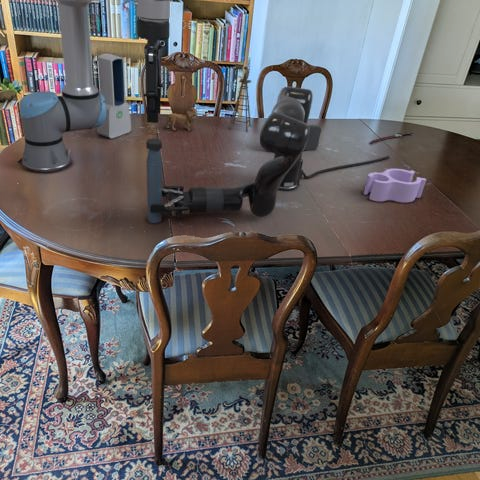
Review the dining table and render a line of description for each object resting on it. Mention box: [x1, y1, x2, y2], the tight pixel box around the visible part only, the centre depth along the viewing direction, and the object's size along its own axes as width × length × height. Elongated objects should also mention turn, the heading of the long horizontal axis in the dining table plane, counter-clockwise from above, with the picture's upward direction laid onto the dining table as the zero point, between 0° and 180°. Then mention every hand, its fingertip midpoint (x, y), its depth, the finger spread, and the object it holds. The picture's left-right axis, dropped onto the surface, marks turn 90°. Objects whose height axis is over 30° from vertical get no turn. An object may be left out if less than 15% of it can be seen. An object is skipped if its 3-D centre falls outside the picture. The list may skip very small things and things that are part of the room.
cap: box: [145, 138, 163, 151], centre depth 123 cm, size 4×4×2 cm
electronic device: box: [96, 53, 132, 139], centre depth 180 cm, size 12×8×30 cm, turn 148°
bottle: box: [146, 149, 163, 224], centre depth 129 cm, size 4×4×24 cm
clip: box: [362, 168, 427, 203], centre depth 162 cm, size 20×12×7 cm, turn 109°
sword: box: [370, 132, 414, 145], centre depth 214 cm, size 31×3×1 cm, turn 126°
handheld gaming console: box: [303, 124, 322, 151], centre depth 189 cm, size 23×3×10 cm, turn 108°
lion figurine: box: [162, 107, 198, 132], centre depth 197 cm, size 15×5×9 cm, turn 110°
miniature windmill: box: [228, 58, 252, 132], centre depth 200 cm, size 9×8×30 cm
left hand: (153, 117), depth 119 cm, fingers open, 6 cm apart
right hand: (149, 201), depth 132 cm, fingers open, 8 cm apart
